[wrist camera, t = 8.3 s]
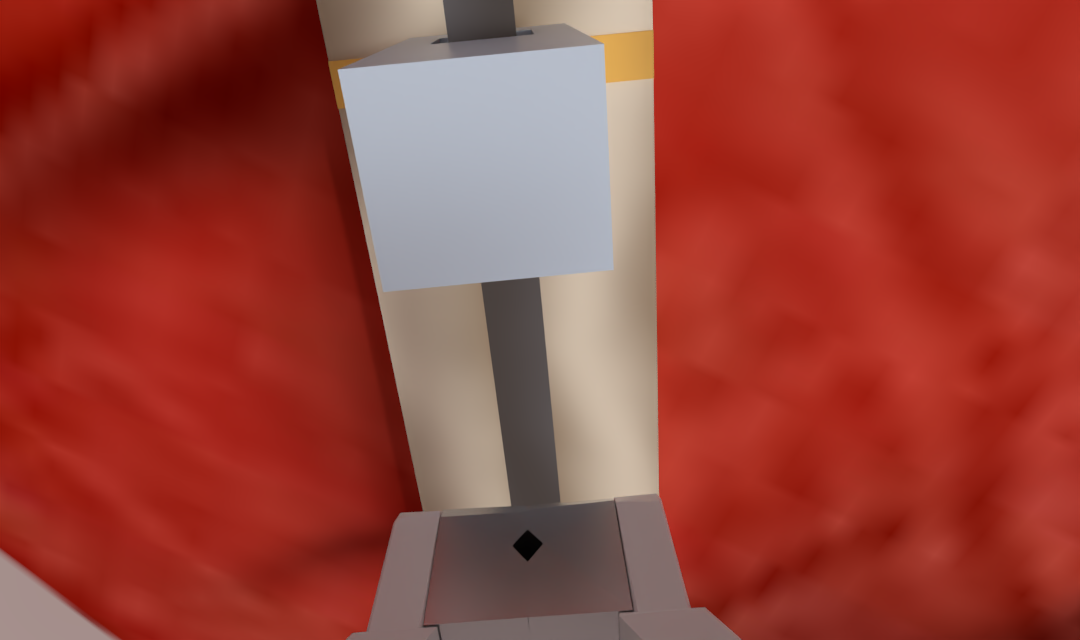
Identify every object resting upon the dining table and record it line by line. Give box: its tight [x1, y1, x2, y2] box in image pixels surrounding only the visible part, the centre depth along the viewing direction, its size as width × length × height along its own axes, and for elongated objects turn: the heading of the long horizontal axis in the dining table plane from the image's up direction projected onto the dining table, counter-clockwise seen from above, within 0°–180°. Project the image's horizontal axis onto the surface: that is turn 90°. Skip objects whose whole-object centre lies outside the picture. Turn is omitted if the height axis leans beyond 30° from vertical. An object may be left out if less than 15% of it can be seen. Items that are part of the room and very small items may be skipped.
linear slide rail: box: [316, 0, 659, 512], centre depth 21 cm, size 10×34×8 cm, turn 5°
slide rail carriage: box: [338, 23, 614, 292], centre depth 16 cm, size 4×4×9 cm
